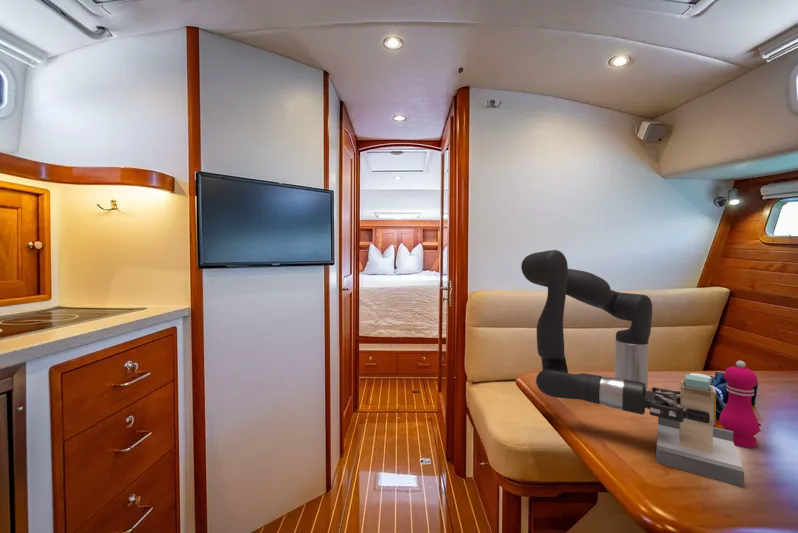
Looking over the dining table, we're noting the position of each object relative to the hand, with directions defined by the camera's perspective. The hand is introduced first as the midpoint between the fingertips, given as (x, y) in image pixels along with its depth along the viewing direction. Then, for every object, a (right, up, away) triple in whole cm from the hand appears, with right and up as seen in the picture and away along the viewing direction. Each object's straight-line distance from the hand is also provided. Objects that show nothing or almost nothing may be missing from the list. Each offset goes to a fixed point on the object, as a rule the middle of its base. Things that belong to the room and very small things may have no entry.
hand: (707, 411), depth 80 cm
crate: (-2, -8, +1) cm, 8 cm away
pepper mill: (+15, -11, +9) cm, 21 cm away
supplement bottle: (+14, -11, +19) cm, 26 cm away
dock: (-2, -11, +1) cm, 11 cm away
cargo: (-2, +4, +1) cm, 4 cm away
